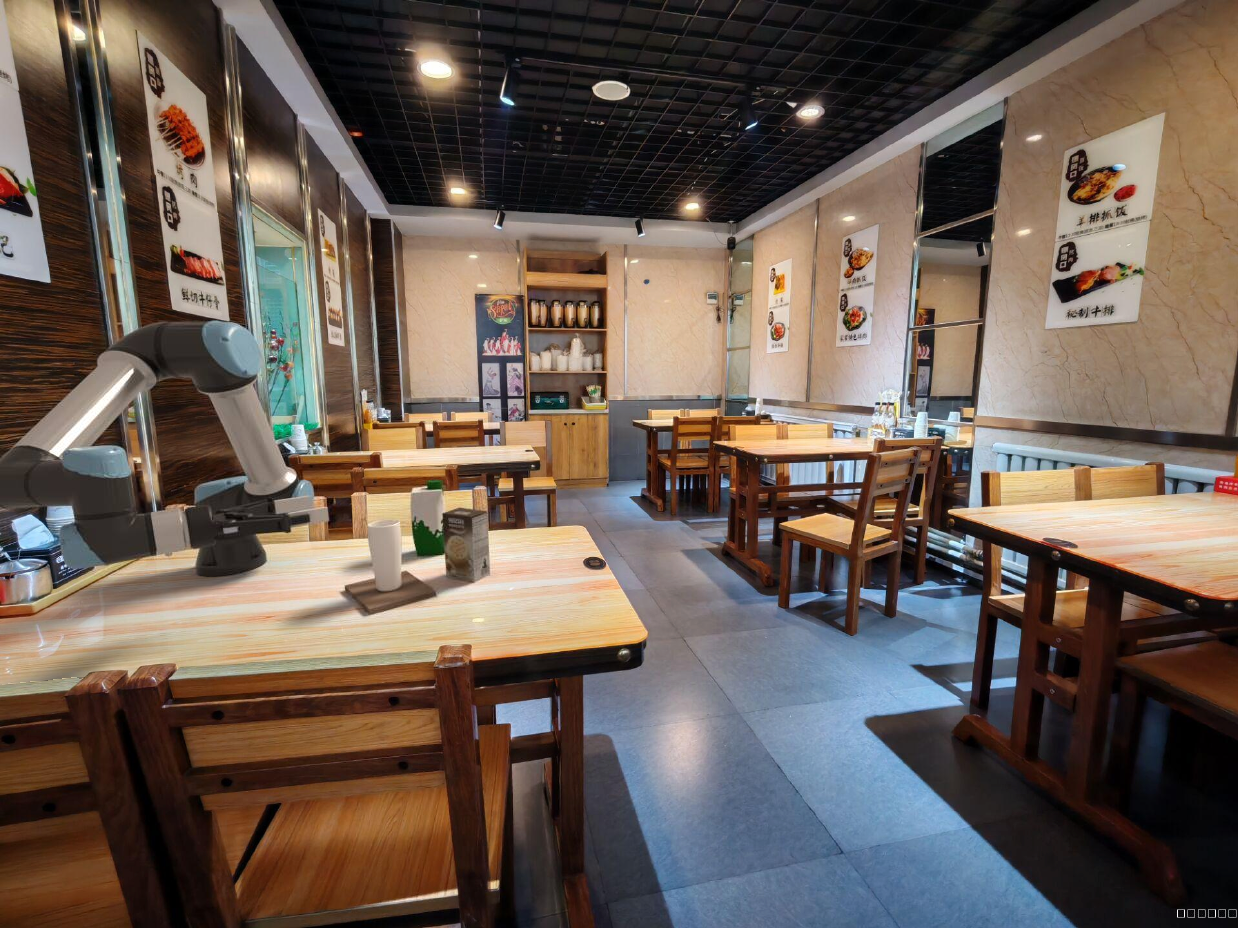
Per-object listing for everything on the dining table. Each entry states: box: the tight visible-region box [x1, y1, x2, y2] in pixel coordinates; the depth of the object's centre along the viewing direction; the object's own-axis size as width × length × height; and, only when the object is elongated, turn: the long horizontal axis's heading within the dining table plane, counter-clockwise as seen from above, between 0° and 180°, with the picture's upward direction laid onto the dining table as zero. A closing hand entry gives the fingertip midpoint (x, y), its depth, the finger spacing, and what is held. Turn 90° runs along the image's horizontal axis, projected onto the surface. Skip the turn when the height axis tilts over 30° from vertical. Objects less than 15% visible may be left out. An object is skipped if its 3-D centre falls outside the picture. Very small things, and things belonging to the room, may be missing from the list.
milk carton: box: [410, 479, 447, 558], centre depth 149 cm, size 9×9×20 cm
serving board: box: [344, 570, 437, 615], centre depth 121 cm, size 18×14×1 cm
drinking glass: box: [366, 519, 403, 592], centre depth 120 cm, size 7×7×15 cm
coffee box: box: [442, 507, 491, 583], centre depth 130 cm, size 9×6×16 cm
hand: (319, 507), depth 110 cm, fingers open, 13 cm apart
